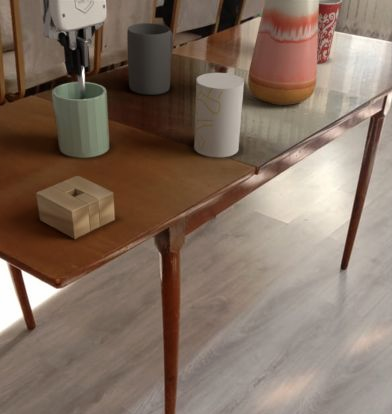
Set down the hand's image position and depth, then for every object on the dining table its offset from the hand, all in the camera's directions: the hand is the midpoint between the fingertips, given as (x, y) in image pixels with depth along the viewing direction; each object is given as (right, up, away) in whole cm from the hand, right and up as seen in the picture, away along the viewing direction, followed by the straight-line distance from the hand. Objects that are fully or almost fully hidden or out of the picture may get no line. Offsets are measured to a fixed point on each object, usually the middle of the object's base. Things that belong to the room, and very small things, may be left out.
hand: (78, 70), depth 105 cm
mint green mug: (-2, -9, +9) cm, 13 cm away
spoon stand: (+2, -27, -11) cm, 29 cm away
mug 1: (+11, +12, +35) cm, 38 cm away
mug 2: (+48, +27, +54) cm, 77 cm away
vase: (+38, +8, +31) cm, 50 cm away
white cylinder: (+23, -10, +10) cm, 28 cm away
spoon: (0, -6, +6) cm, 9 cm away
